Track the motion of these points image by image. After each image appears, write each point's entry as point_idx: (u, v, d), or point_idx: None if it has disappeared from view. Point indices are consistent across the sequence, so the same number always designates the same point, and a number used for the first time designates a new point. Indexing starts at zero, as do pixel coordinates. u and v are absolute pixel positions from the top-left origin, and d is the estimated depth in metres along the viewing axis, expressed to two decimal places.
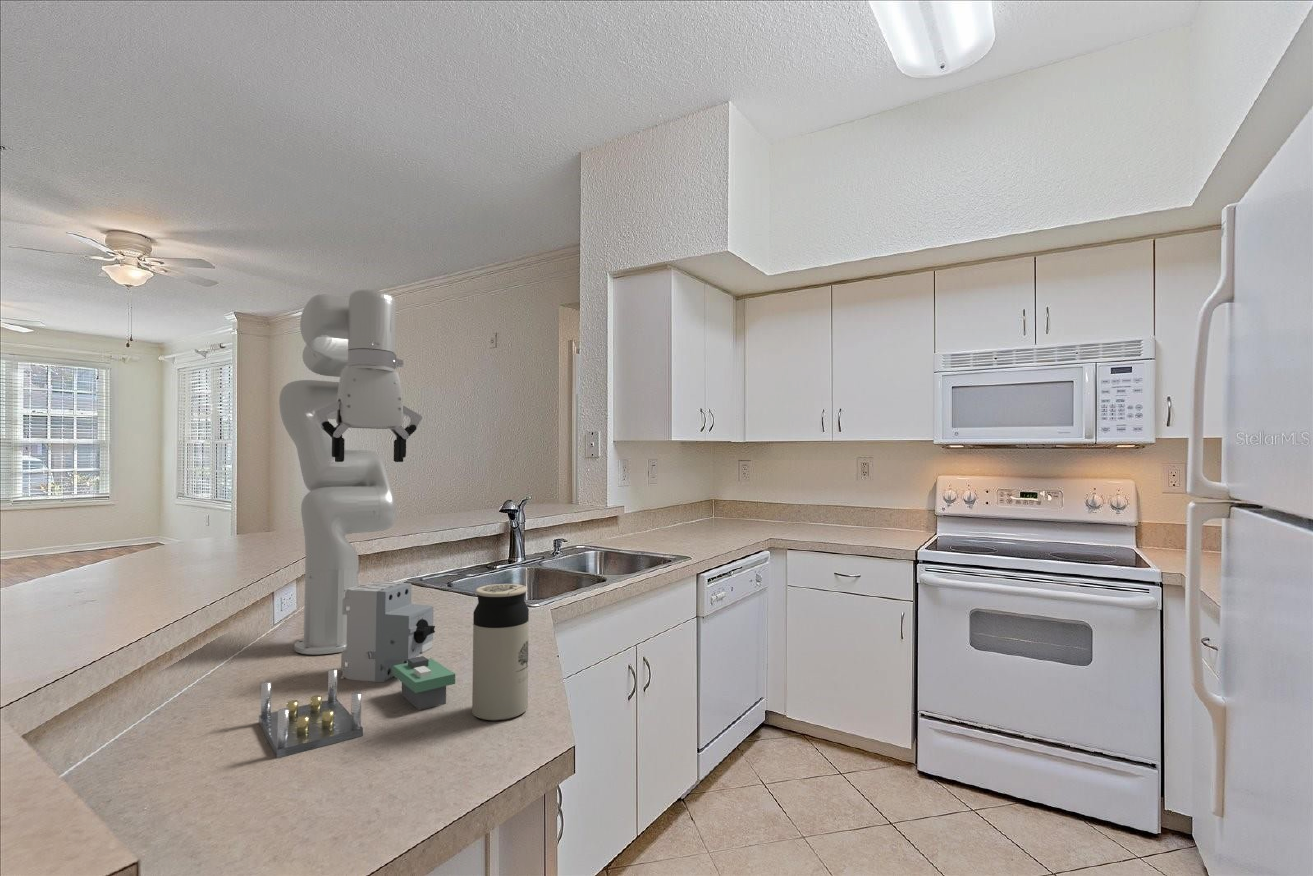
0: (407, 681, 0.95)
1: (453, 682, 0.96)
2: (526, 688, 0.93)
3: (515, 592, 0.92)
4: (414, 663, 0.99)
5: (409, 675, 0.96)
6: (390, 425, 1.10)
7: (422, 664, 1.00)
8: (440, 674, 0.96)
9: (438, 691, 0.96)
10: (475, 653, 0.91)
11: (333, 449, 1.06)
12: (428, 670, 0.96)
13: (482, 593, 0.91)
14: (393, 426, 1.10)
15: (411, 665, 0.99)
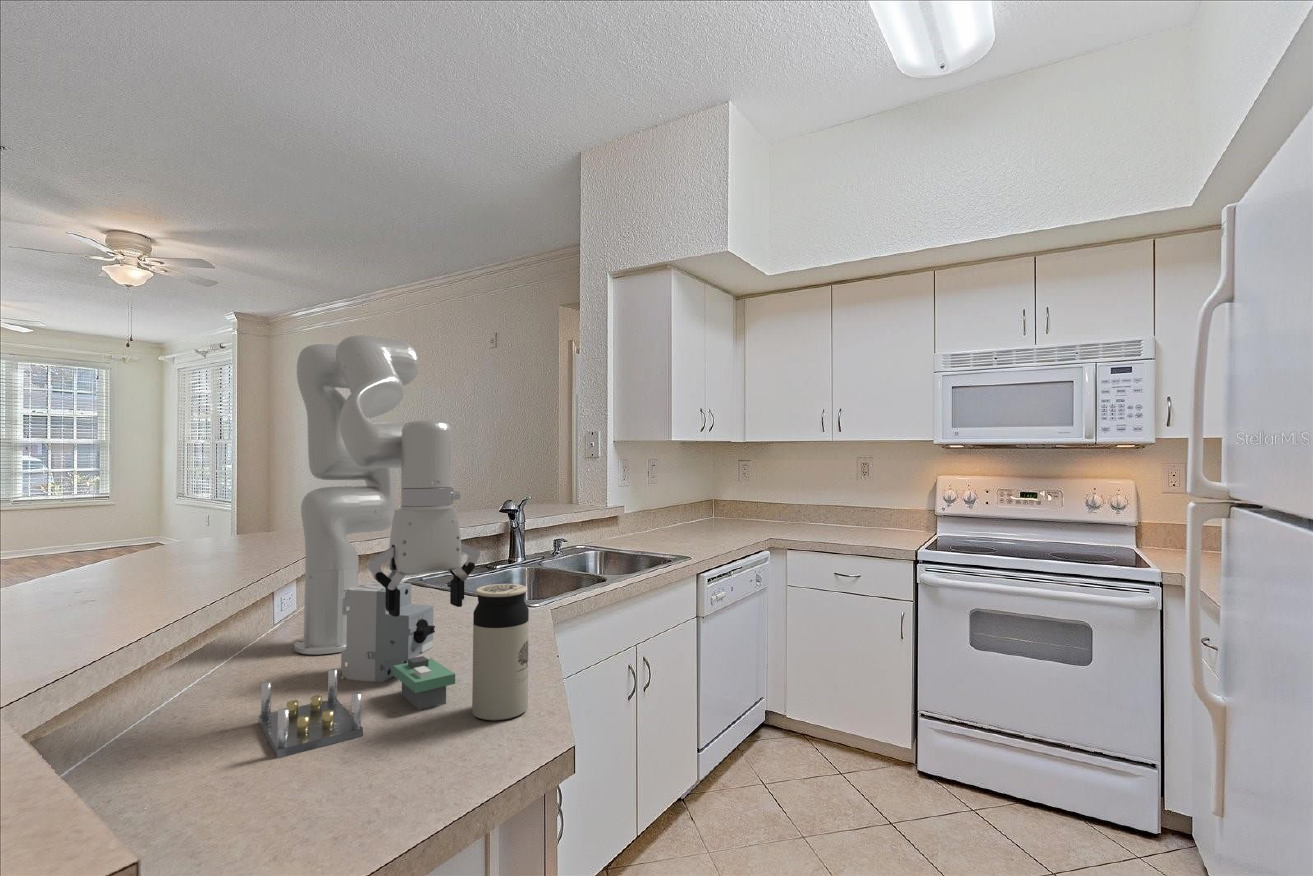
0: (407, 681, 0.95)
1: (453, 682, 0.96)
2: (526, 688, 0.93)
3: (515, 592, 0.92)
4: (414, 663, 0.99)
5: (409, 675, 0.96)
6: (448, 568, 0.99)
7: (422, 664, 1.00)
8: (440, 674, 0.96)
9: (438, 691, 0.96)
10: (475, 653, 0.91)
11: (387, 602, 0.95)
12: (428, 670, 0.96)
13: (482, 593, 0.91)
14: (451, 569, 1.00)
15: (411, 665, 0.99)
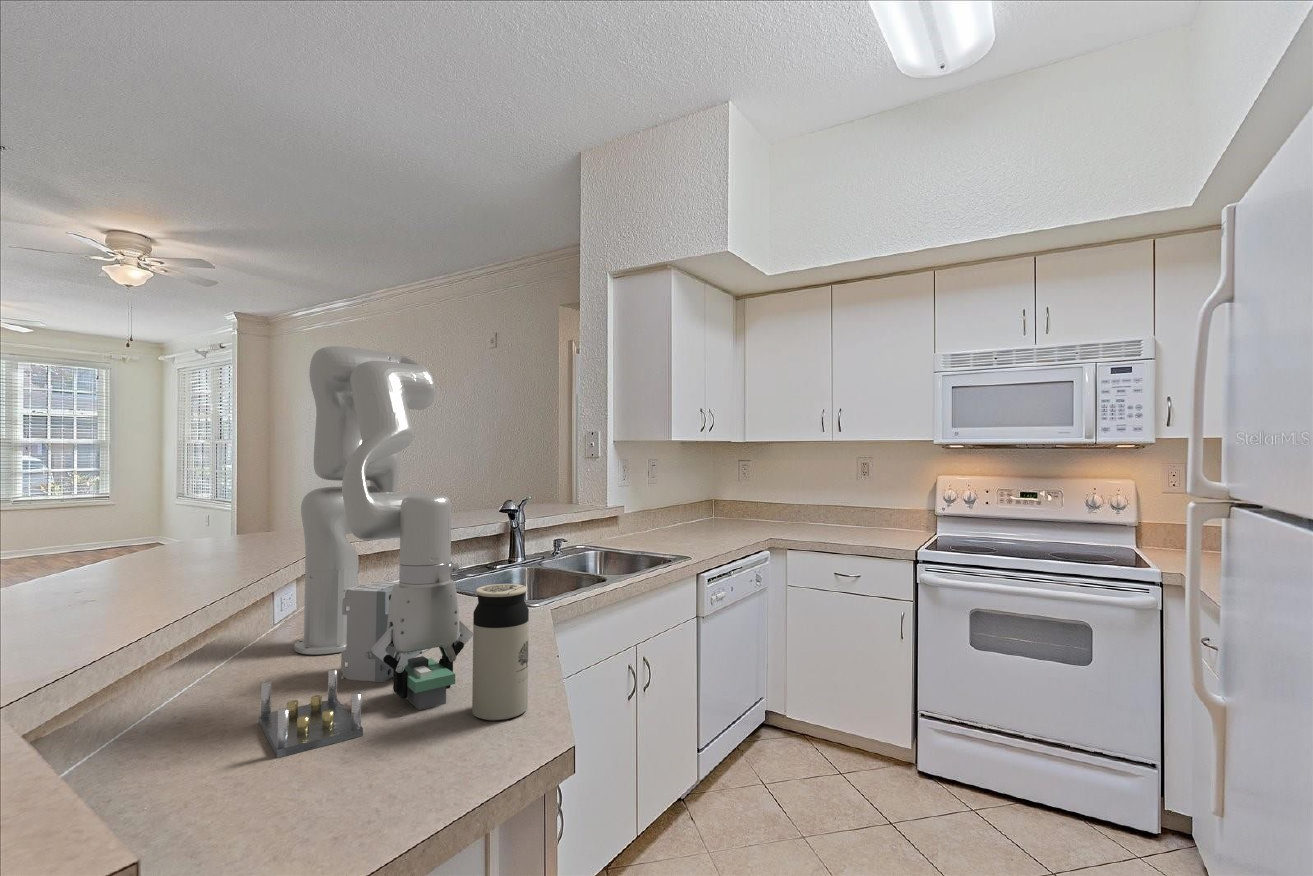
0: (407, 681, 0.95)
1: (453, 682, 0.96)
2: (526, 688, 0.93)
3: (515, 592, 0.92)
4: (414, 663, 0.99)
5: (409, 675, 0.96)
6: (446, 643, 0.99)
7: (422, 664, 1.00)
8: (440, 674, 0.96)
9: (438, 691, 0.96)
10: (475, 653, 0.91)
11: (395, 684, 0.95)
12: (428, 670, 0.96)
13: (482, 593, 0.91)
14: (449, 643, 0.99)
15: (411, 665, 0.99)
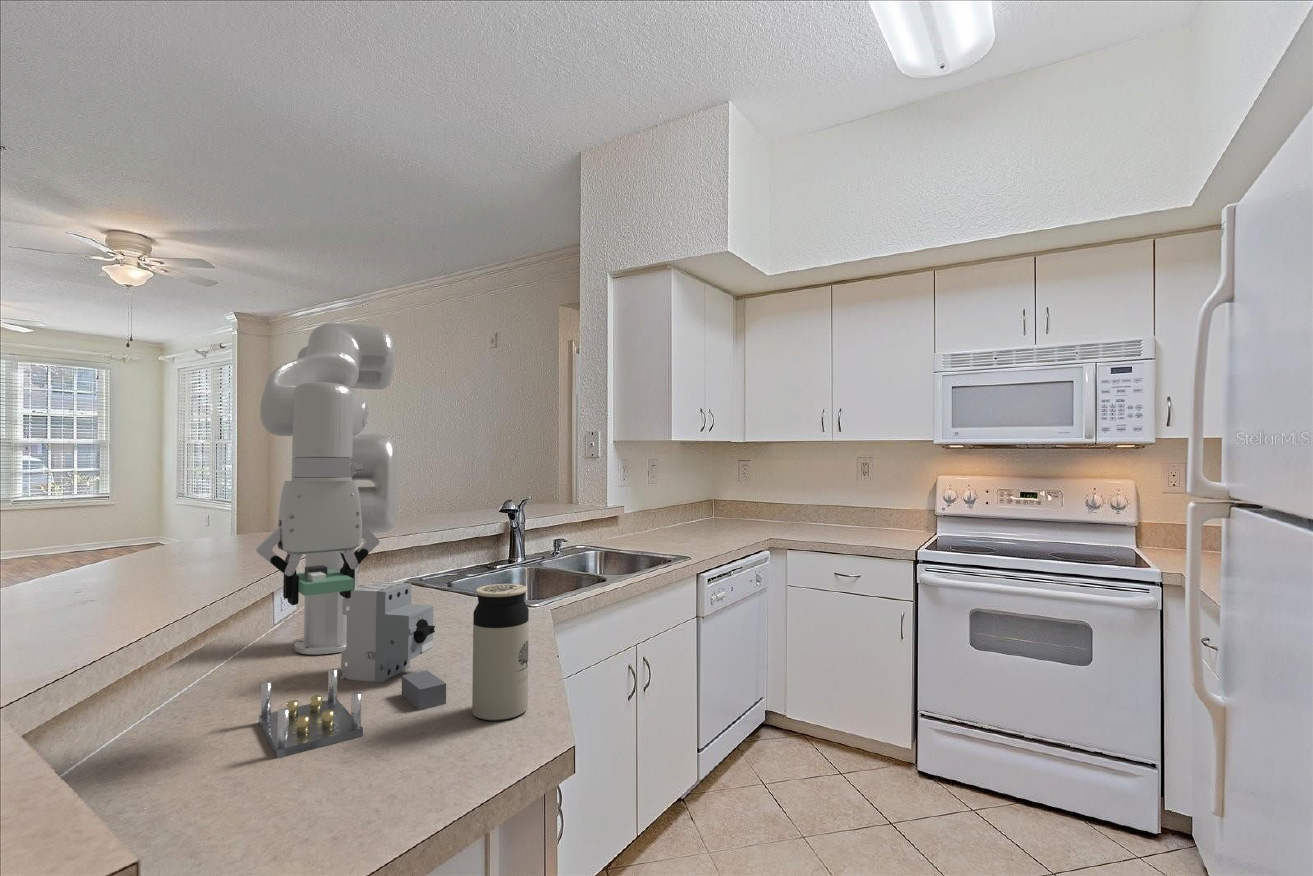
0: (298, 586, 0.85)
1: (351, 588, 0.87)
2: (526, 688, 0.93)
3: (515, 592, 0.92)
4: (310, 570, 0.89)
5: (302, 580, 0.86)
6: (345, 547, 0.89)
7: (320, 571, 0.90)
8: (336, 579, 0.86)
9: (438, 691, 0.96)
10: (475, 653, 0.91)
11: (285, 589, 0.86)
12: (322, 574, 0.86)
13: (482, 593, 0.91)
14: (349, 548, 0.90)
15: (307, 572, 0.89)
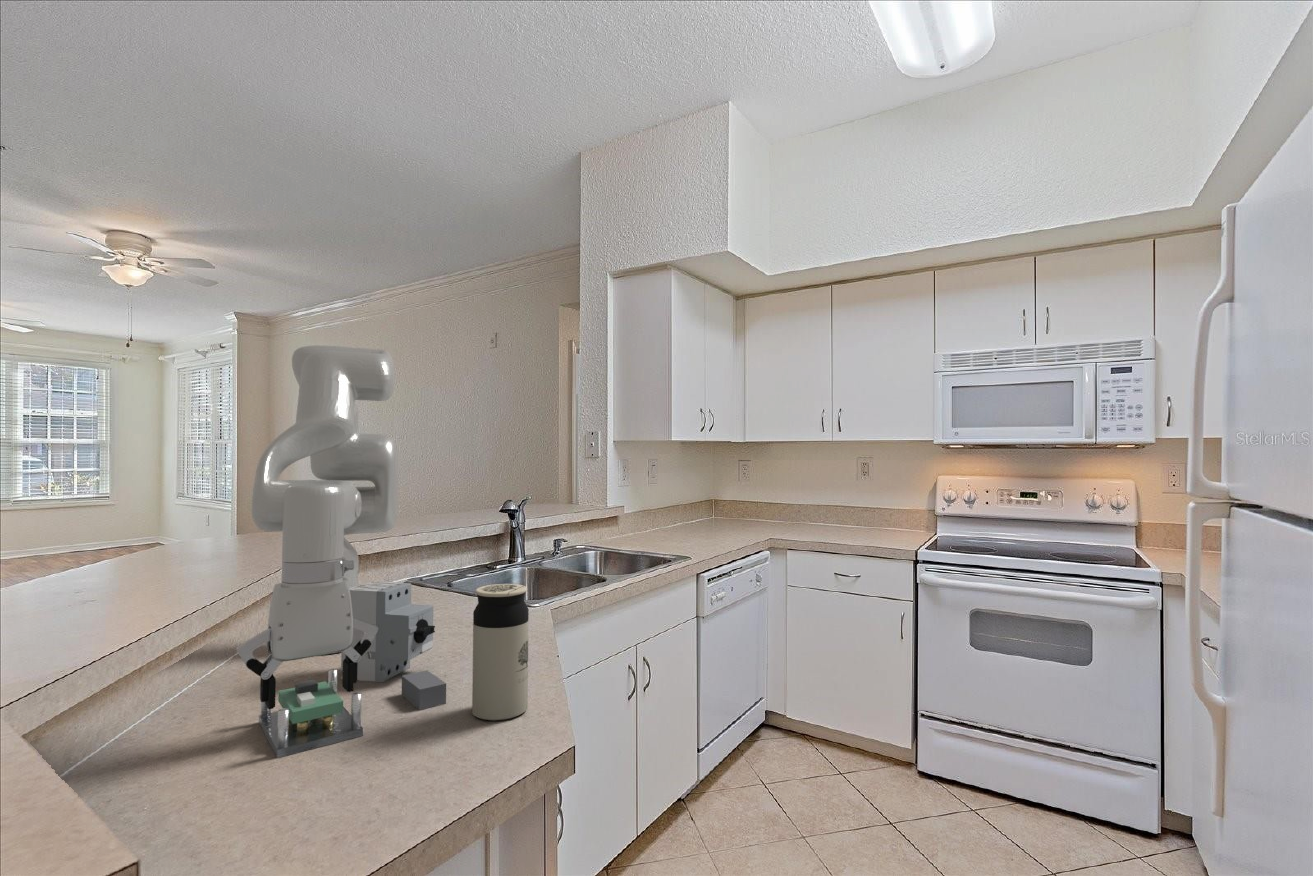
0: None
1: (340, 710, 0.85)
2: (526, 688, 0.93)
3: (515, 592, 0.92)
4: (300, 689, 0.88)
5: (291, 703, 0.85)
6: (336, 650, 0.88)
7: (310, 689, 0.89)
8: (325, 702, 0.85)
9: (438, 691, 0.96)
10: (475, 653, 0.91)
11: (261, 692, 0.84)
12: (311, 697, 0.85)
13: (482, 593, 0.91)
14: (340, 650, 0.88)
15: (297, 691, 0.88)
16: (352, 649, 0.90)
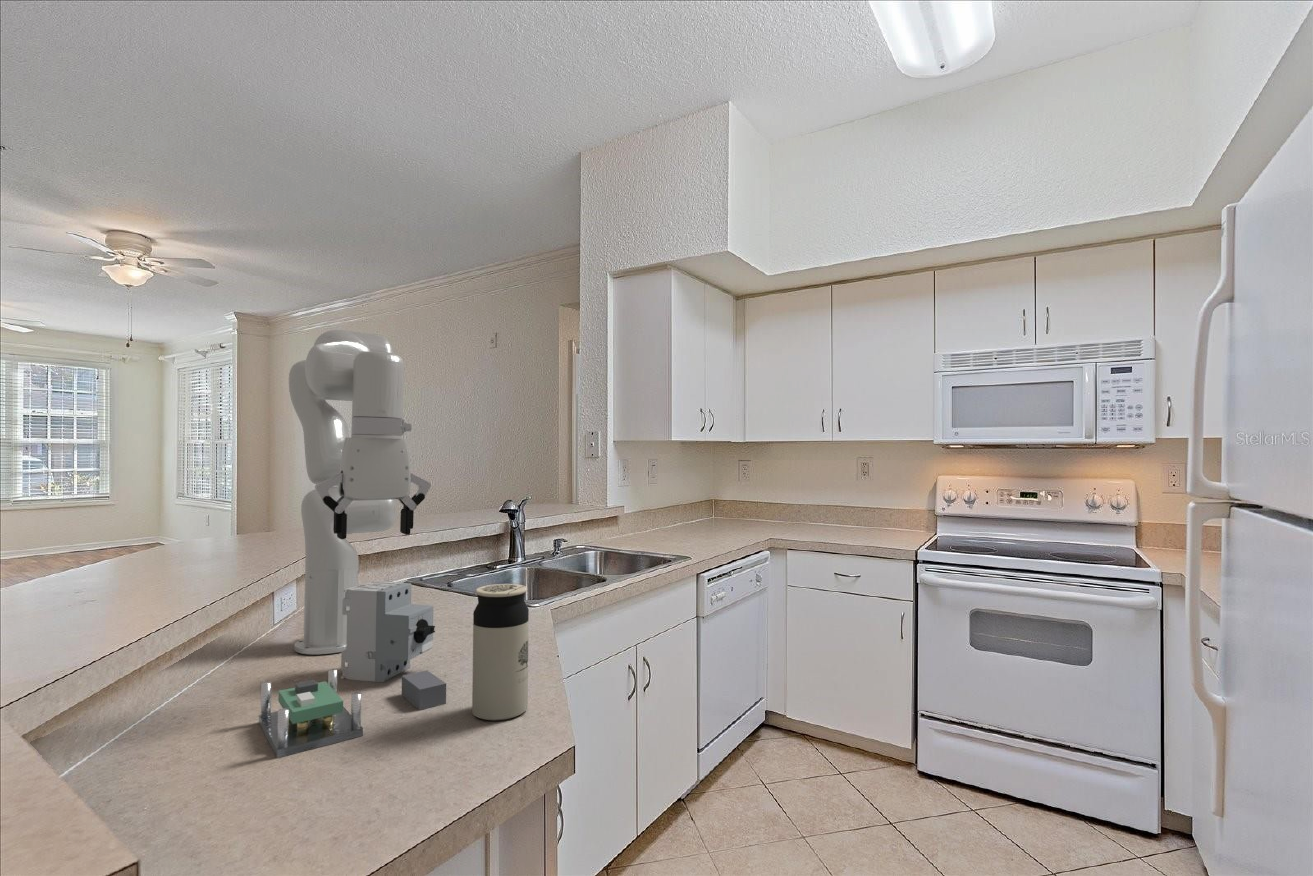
0: None
1: (340, 710, 0.85)
2: (526, 688, 0.93)
3: (515, 592, 0.92)
4: (300, 689, 0.88)
5: (291, 703, 0.85)
6: (396, 496, 1.02)
7: (310, 689, 0.89)
8: (325, 702, 0.85)
9: (438, 691, 0.96)
10: (475, 653, 0.91)
11: (335, 525, 0.98)
12: (311, 697, 0.85)
13: (482, 593, 0.91)
14: (400, 497, 1.03)
15: (297, 691, 0.88)
16: (409, 498, 1.04)
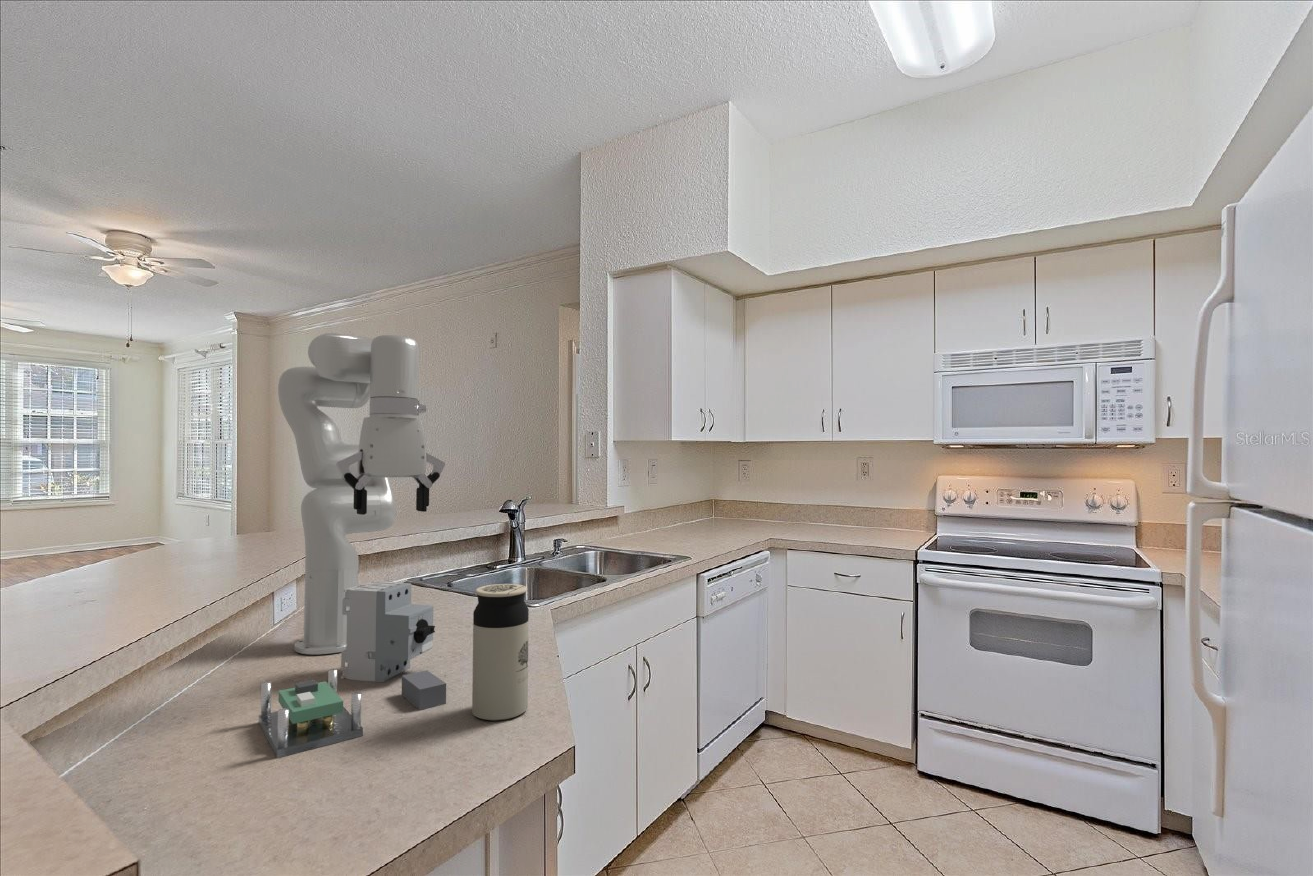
0: None
1: (340, 710, 0.85)
2: (526, 688, 0.93)
3: (515, 592, 0.92)
4: (300, 689, 0.88)
5: (291, 703, 0.85)
6: (413, 474, 1.06)
7: (310, 689, 0.89)
8: (325, 702, 0.85)
9: (438, 691, 0.96)
10: (475, 653, 0.91)
11: (355, 501, 1.02)
12: (311, 697, 0.85)
13: (482, 593, 0.91)
14: (416, 475, 1.07)
15: (297, 691, 0.88)
16: (425, 476, 1.08)
